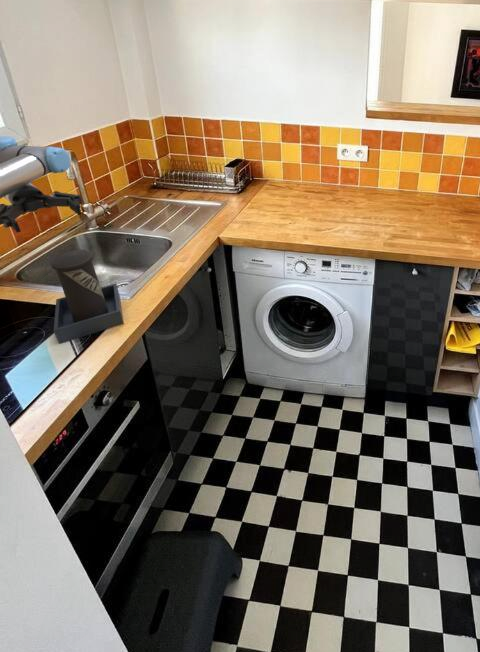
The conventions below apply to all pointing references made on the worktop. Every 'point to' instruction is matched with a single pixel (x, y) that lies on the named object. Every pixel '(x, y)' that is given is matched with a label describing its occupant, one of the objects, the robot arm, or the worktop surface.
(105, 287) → the tote
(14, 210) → the robot arm
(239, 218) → the worktop surface
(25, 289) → the worktop surface
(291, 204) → the worktop surface
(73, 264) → the container
